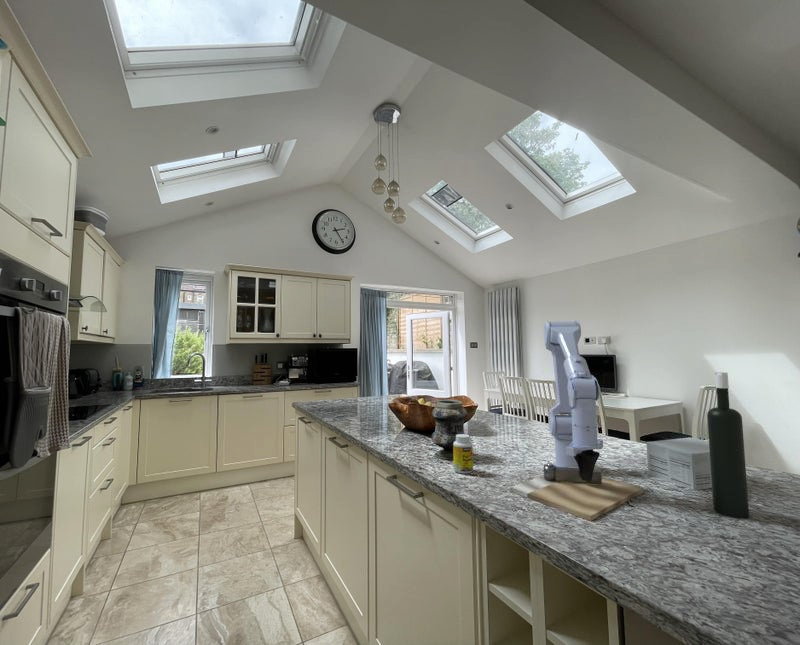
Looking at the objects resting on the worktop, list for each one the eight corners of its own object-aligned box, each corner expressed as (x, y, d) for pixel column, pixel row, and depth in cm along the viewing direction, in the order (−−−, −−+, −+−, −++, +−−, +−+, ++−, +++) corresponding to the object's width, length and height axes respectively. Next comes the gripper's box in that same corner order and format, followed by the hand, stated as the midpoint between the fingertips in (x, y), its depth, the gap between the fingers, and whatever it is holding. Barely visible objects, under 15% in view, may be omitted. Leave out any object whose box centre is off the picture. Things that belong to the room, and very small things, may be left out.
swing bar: (545, 480, 96) (544, 465, 97) (543, 476, 99) (542, 461, 100) (602, 484, 93) (601, 468, 94) (598, 479, 96) (598, 465, 97)
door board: (566, 471, 107) (566, 458, 108) (643, 492, 91) (642, 477, 92) (510, 491, 92) (509, 476, 92) (590, 521, 76) (589, 502, 76)
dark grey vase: (471, 461, 118) (469, 403, 119) (433, 461, 118) (432, 403, 119) (464, 450, 130) (463, 398, 131) (430, 450, 130) (430, 398, 131)
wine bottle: (752, 521, 76) (741, 373, 78) (716, 514, 79) (706, 372, 81) (745, 510, 81) (735, 372, 83) (711, 505, 84) (702, 371, 86)
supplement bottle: (462, 475, 104) (462, 438, 105) (449, 470, 109) (449, 434, 109) (477, 472, 107) (476, 436, 108) (463, 467, 112) (463, 432, 112)
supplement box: (691, 468, 110) (689, 436, 110) (742, 484, 97) (740, 447, 98) (646, 474, 105) (644, 440, 106) (694, 491, 93) (692, 452, 93)
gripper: (585, 431, 87) (587, 491, 86) (614, 424, 95) (616, 478, 94) (557, 427, 93) (559, 483, 91) (586, 420, 101) (589, 471, 100)
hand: (586, 480), depth 93 cm, fingers closed
